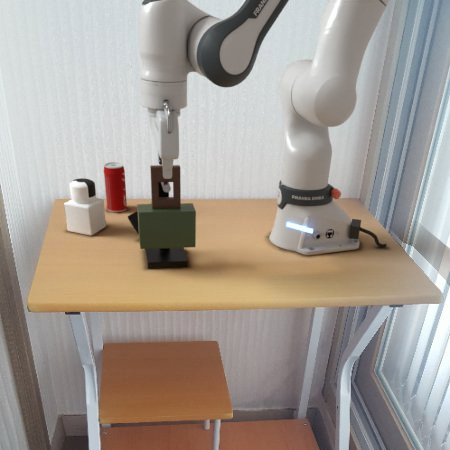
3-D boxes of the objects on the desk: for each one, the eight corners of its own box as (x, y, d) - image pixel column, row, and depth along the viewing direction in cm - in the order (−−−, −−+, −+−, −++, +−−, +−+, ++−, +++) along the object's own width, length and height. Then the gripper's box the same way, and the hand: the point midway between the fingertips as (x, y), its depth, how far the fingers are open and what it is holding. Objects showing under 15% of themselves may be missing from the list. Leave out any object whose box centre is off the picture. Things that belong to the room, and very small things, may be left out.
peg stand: (182, 249, 140) (182, 167, 128) (188, 269, 131) (188, 183, 120) (144, 250, 138) (140, 167, 127) (148, 271, 130) (144, 183, 118)
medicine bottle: (82, 222, 151) (77, 174, 144) (106, 226, 150) (102, 178, 142) (67, 231, 146) (60, 182, 139) (91, 236, 144) (86, 187, 137)
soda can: (128, 212, 158) (125, 166, 151) (107, 213, 157) (103, 167, 150) (126, 205, 163) (123, 160, 156) (106, 206, 162) (102, 161, 154)
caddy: (192, 238, 132) (192, 162, 122) (195, 247, 128) (196, 169, 118) (139, 240, 130) (134, 163, 120) (140, 249, 126) (136, 170, 116)
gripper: (187, 107, 104) (186, 186, 112) (174, 86, 119) (174, 157, 128) (151, 106, 102) (153, 186, 111) (143, 85, 118) (145, 157, 127)
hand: (164, 170), depth 119 cm, fingers open, 8 cm apart
